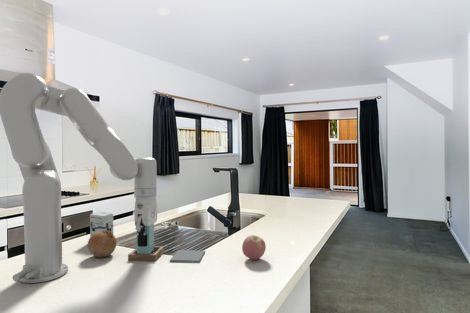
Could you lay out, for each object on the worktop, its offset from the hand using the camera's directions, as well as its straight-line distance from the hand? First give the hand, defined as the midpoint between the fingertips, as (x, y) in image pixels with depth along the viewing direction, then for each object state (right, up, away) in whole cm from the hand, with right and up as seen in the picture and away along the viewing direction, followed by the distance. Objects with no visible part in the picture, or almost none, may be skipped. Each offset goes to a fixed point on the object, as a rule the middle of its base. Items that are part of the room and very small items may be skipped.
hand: (145, 243), depth 107 cm
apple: (+38, -4, -4) cm, 39 cm away
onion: (-16, -5, +1) cm, 16 cm away
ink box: (-23, -5, +17) cm, 29 cm away
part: (0, -3, 0) cm, 3 cm away
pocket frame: (0, -5, 0) cm, 5 cm away
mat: (+15, -4, -1) cm, 16 cm away
